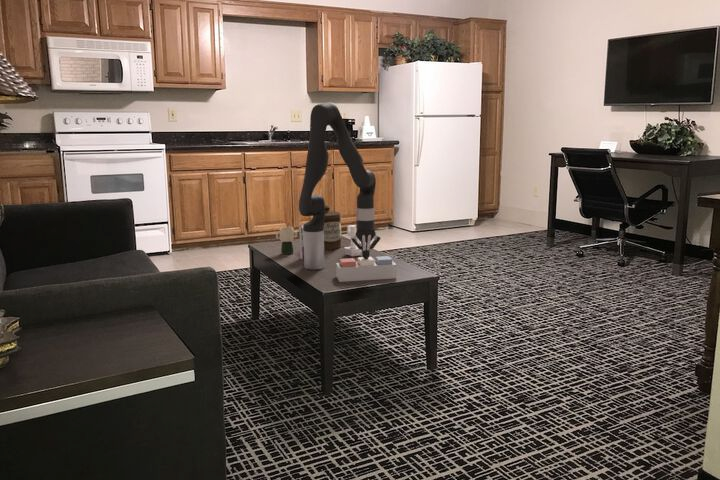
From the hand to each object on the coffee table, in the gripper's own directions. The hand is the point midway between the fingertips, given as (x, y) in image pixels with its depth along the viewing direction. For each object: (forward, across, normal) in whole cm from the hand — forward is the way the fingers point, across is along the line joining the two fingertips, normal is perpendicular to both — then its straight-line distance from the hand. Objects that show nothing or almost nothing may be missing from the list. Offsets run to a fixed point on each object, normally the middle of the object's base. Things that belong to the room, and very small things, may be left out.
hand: (365, 258), depth 248 cm
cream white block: (+5, 0, 0) cm, 5 cm away
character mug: (+8, +30, -53) cm, 61 cm away
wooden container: (+8, +8, -64) cm, 65 cm away
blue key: (+5, -8, 0) cm, 9 cm away
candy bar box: (+8, +19, -40) cm, 45 cm away
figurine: (+8, -2, -42) cm, 43 cm away
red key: (+5, +8, 0) cm, 9 cm away
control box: (+8, 0, 0) cm, 8 cm away
